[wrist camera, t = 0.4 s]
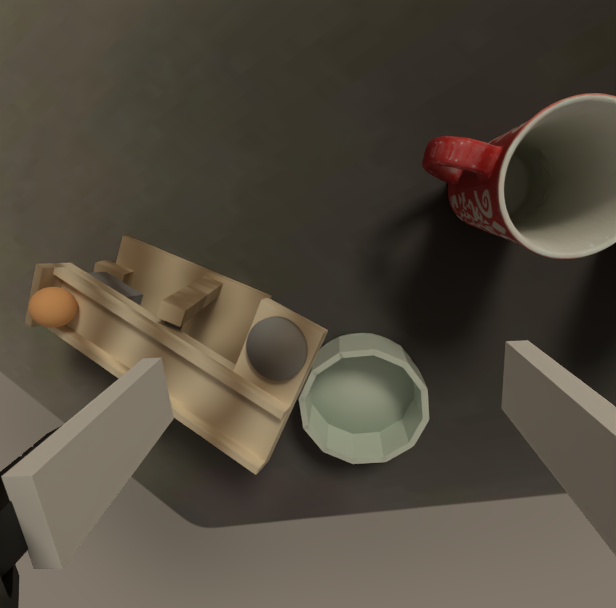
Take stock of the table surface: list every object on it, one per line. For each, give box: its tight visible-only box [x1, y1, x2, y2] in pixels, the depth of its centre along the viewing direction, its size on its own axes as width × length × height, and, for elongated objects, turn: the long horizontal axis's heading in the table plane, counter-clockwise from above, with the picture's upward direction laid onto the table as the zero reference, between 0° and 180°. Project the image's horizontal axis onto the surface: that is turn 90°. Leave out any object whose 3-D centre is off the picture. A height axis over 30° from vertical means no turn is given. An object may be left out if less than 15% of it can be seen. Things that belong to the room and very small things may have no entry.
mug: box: [422, 93, 616, 259], centre depth 28 cm, size 13×9×14 cm
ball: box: [28, 287, 77, 327], centre depth 31 cm, size 3×3×3 cm
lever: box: [25, 263, 328, 475], centre depth 31 cm, size 24×12×6 cm, turn 68°
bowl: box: [299, 333, 429, 464], centre depth 39 cm, size 12×12×5 cm
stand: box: [93, 235, 272, 365], centre depth 35 cm, size 17×11×11 cm, turn 68°
